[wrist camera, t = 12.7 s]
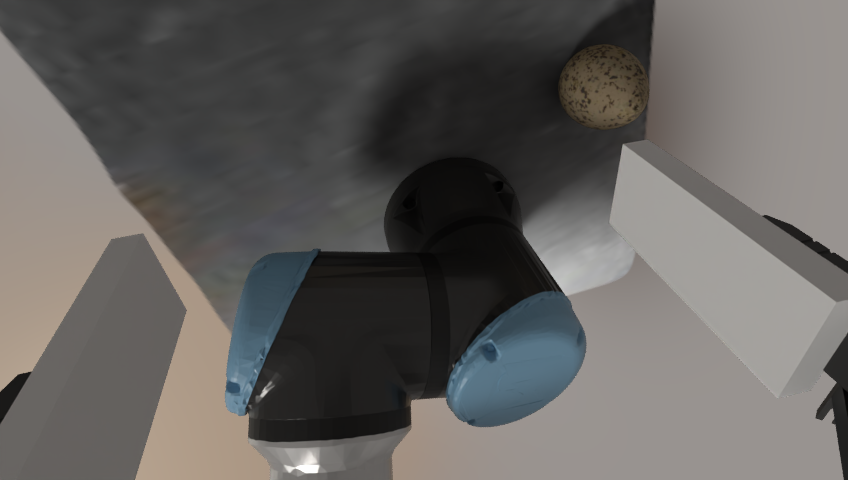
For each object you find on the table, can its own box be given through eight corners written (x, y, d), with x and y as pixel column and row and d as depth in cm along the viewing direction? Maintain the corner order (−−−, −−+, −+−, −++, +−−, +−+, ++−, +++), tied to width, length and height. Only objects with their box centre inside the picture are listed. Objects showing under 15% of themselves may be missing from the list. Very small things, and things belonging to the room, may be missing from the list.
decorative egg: (609, 22, 43) (677, 47, 35) (616, 91, 47) (678, 128, 39) (537, 54, 43) (588, 86, 35) (551, 120, 48) (600, 162, 40)
